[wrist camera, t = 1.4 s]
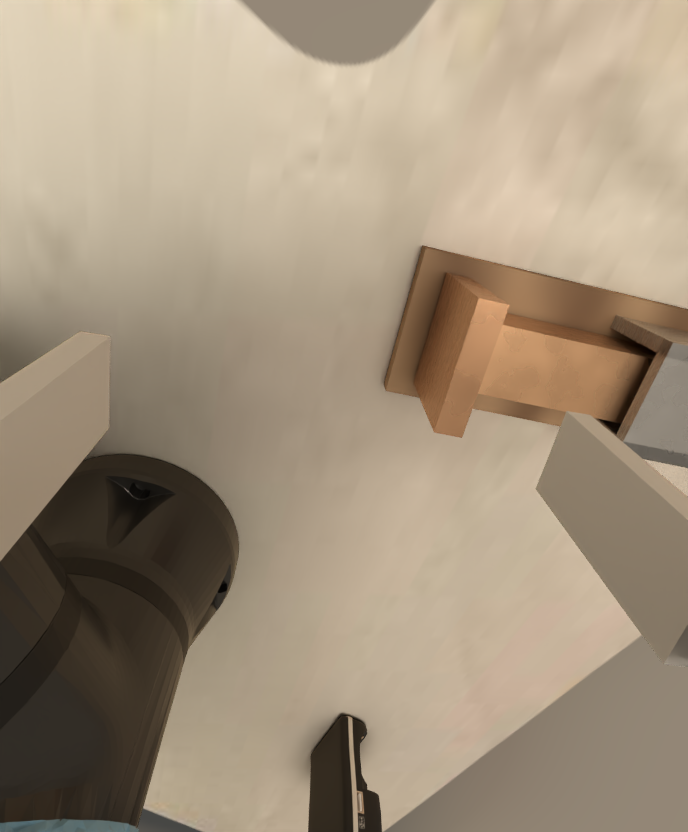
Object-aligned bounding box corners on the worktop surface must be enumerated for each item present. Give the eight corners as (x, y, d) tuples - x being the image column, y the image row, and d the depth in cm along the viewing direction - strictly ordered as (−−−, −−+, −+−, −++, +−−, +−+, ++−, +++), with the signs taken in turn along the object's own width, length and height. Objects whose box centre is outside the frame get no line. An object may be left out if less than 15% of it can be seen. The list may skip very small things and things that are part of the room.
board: (383, 384, 35) (385, 390, 33) (422, 245, 31) (426, 248, 30) (800, 469, 38) (814, 477, 37) (877, 355, 35) (895, 360, 34)
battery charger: (343, 764, 51) (347, 913, 41) (308, 753, 50) (304, 903, 40) (378, 721, 49) (392, 869, 38) (342, 709, 48) (346, 857, 38)
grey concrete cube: (572, 411, 34) (616, 453, 29) (615, 315, 32) (673, 342, 27) (667, 431, 35) (727, 475, 30) (717, 338, 33) (792, 370, 27)
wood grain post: (413, 382, 33) (434, 432, 27) (446, 272, 30) (479, 298, 24) (688, 439, 35) (768, 497, 29) (743, 342, 33) (845, 382, 26)
